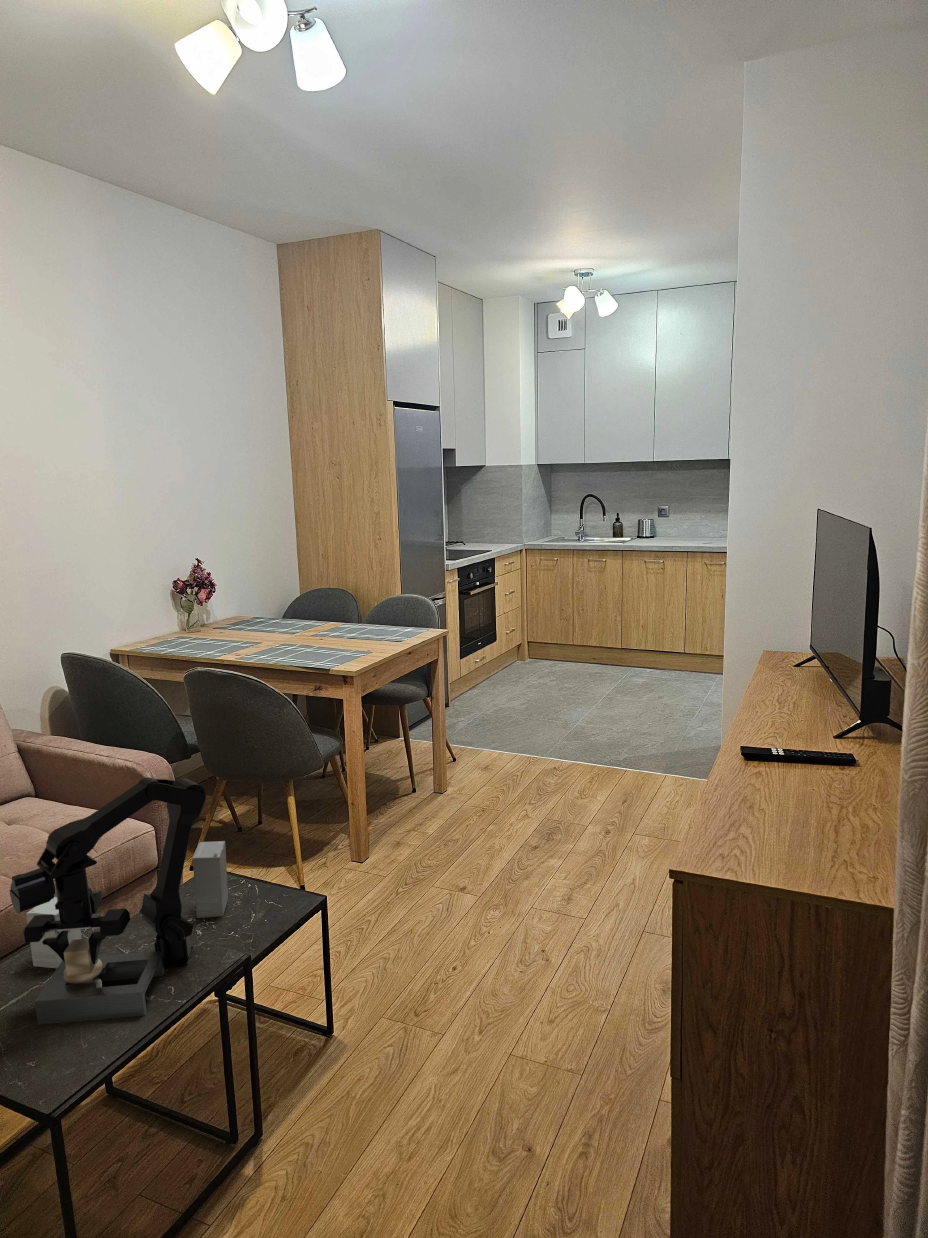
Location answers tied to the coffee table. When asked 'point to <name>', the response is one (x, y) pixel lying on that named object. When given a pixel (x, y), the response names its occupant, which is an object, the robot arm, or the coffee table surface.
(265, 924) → the coffee table surface
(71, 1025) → the coffee table surface
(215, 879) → the skincare box
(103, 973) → the keyhole plate
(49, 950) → the supplement box
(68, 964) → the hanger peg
